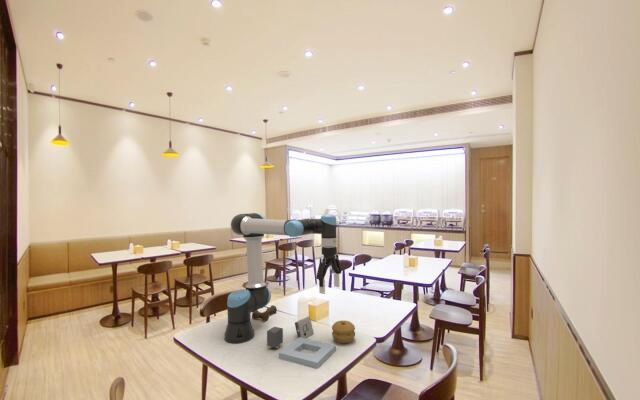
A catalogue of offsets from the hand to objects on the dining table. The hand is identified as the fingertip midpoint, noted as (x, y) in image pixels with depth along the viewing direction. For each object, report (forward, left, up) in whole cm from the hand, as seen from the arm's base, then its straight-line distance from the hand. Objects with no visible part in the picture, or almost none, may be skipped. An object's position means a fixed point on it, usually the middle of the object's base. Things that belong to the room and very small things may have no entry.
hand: (329, 289), depth 150 cm
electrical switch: (-18, +3, -27) cm, 33 cm away
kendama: (-54, +15, -28) cm, 62 cm away
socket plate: (-6, -13, -27) cm, 30 cm away
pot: (+3, +7, -27) cm, 28 cm away
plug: (-24, -14, -27) cm, 38 cm away
